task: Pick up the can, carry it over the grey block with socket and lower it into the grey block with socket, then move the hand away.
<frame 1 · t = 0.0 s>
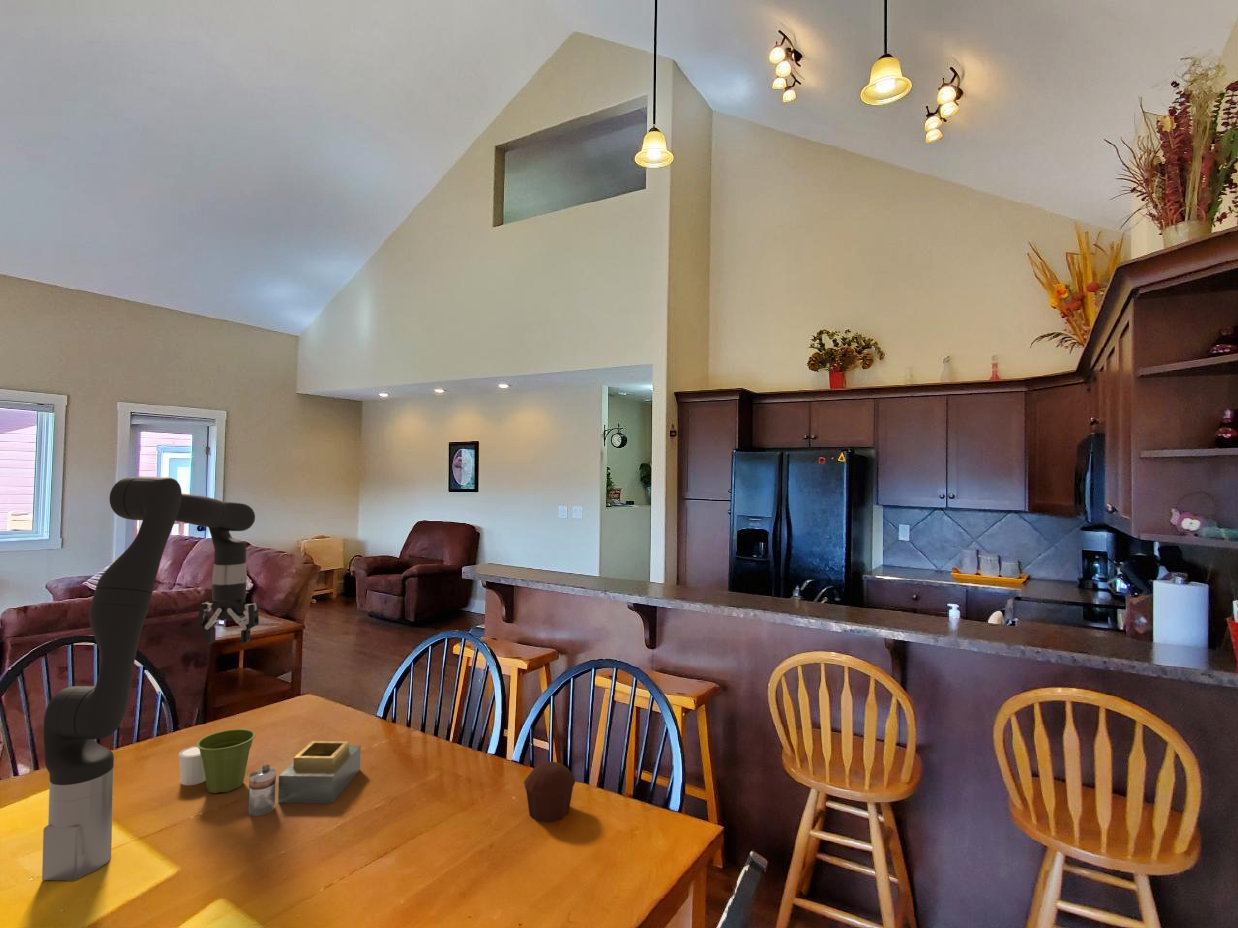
hand: (228, 643, 164), 29 cm above the table, fingers open, 8 cm apart
grey block with socket: (321, 785, 150), on the table
white cylinder: (195, 780, 152), on the table
muffin: (549, 811, 141), on the table
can: (261, 809, 139), on the table
plant pot: (225, 787, 149), on the table
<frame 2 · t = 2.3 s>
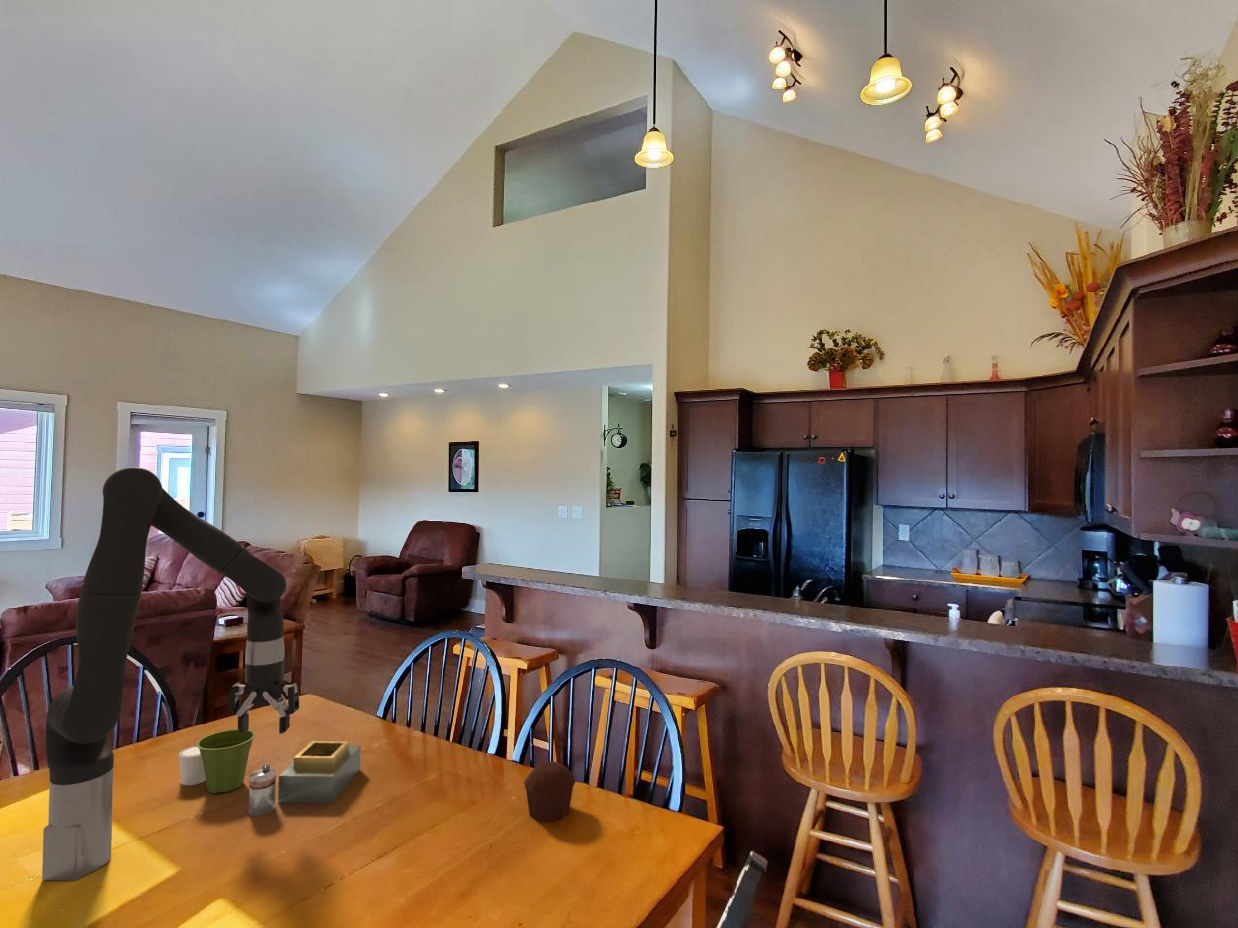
hand: (263, 731, 139), 17 cm above the table, fingers open, 8 cm apart
nothing on the table moved.
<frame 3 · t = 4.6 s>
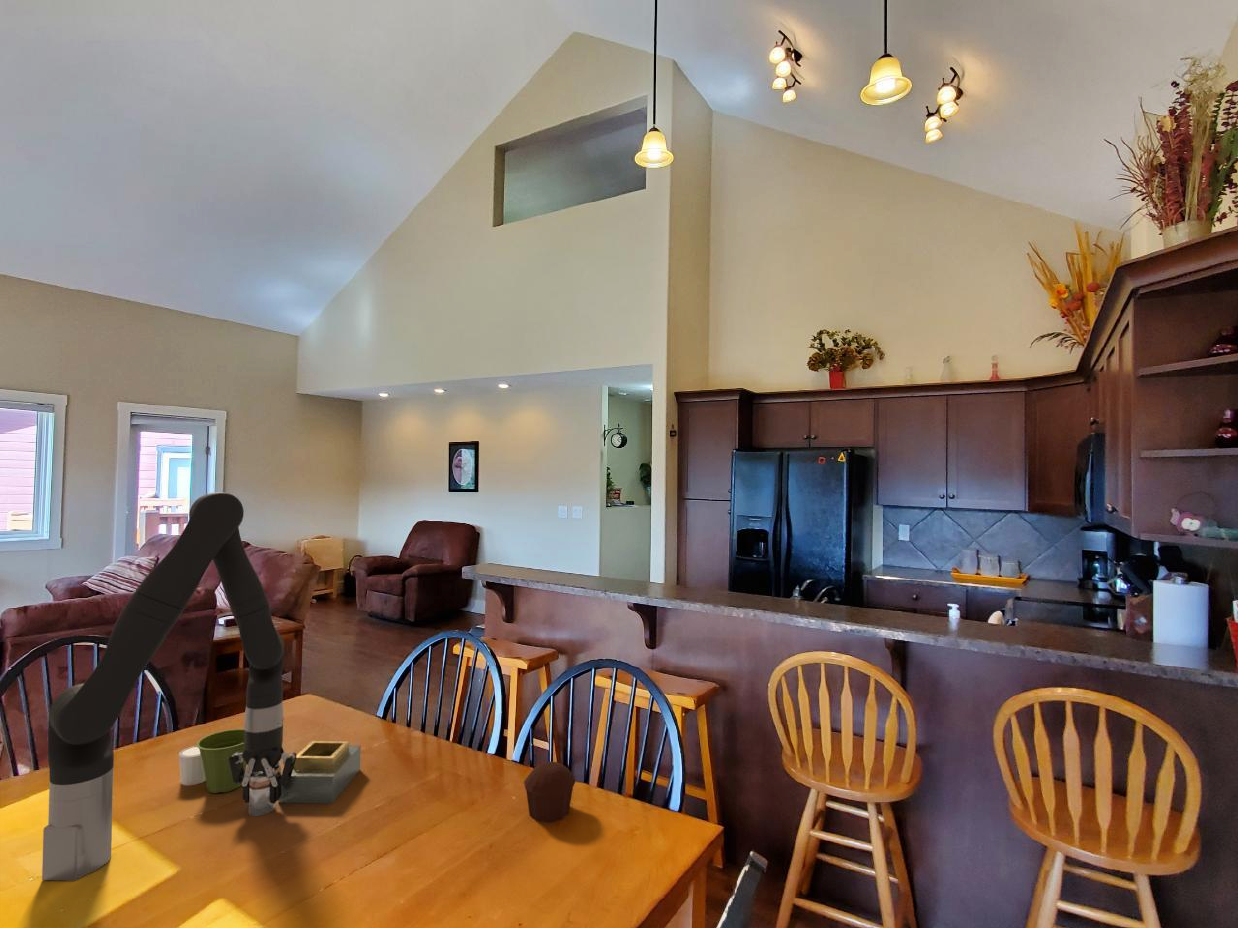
hand: (262, 800, 139), 2 cm above the table, fingers closed on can, 5 cm apart
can: (261, 809, 139), on the table, touching gripper
everything else where it was.
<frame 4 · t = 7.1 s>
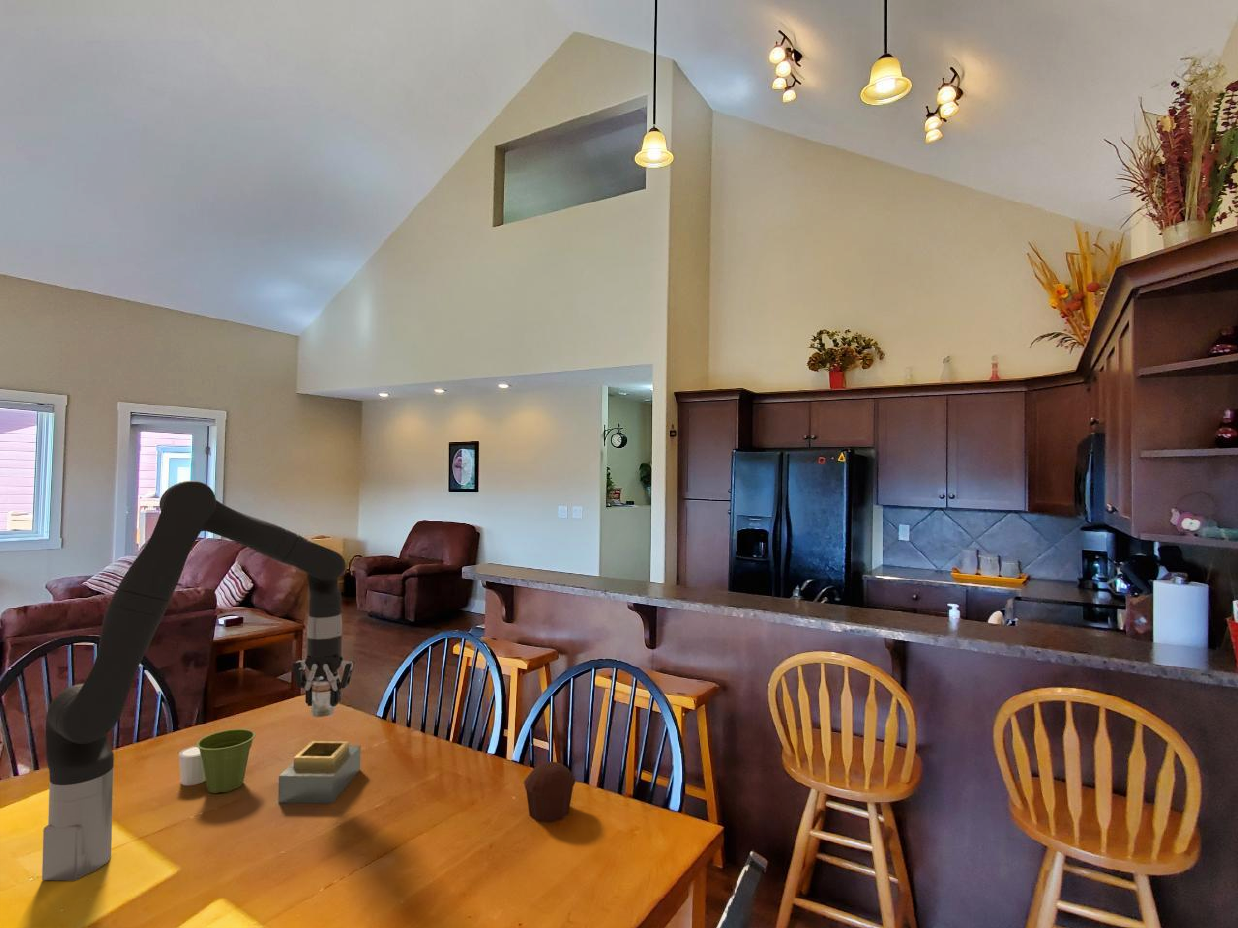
hand: (323, 704, 150), 19 cm above the table, fingers closed on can, 5 cm apart
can: (322, 712, 150), point 17 cm above the table, touching gripper
everything else where it was.
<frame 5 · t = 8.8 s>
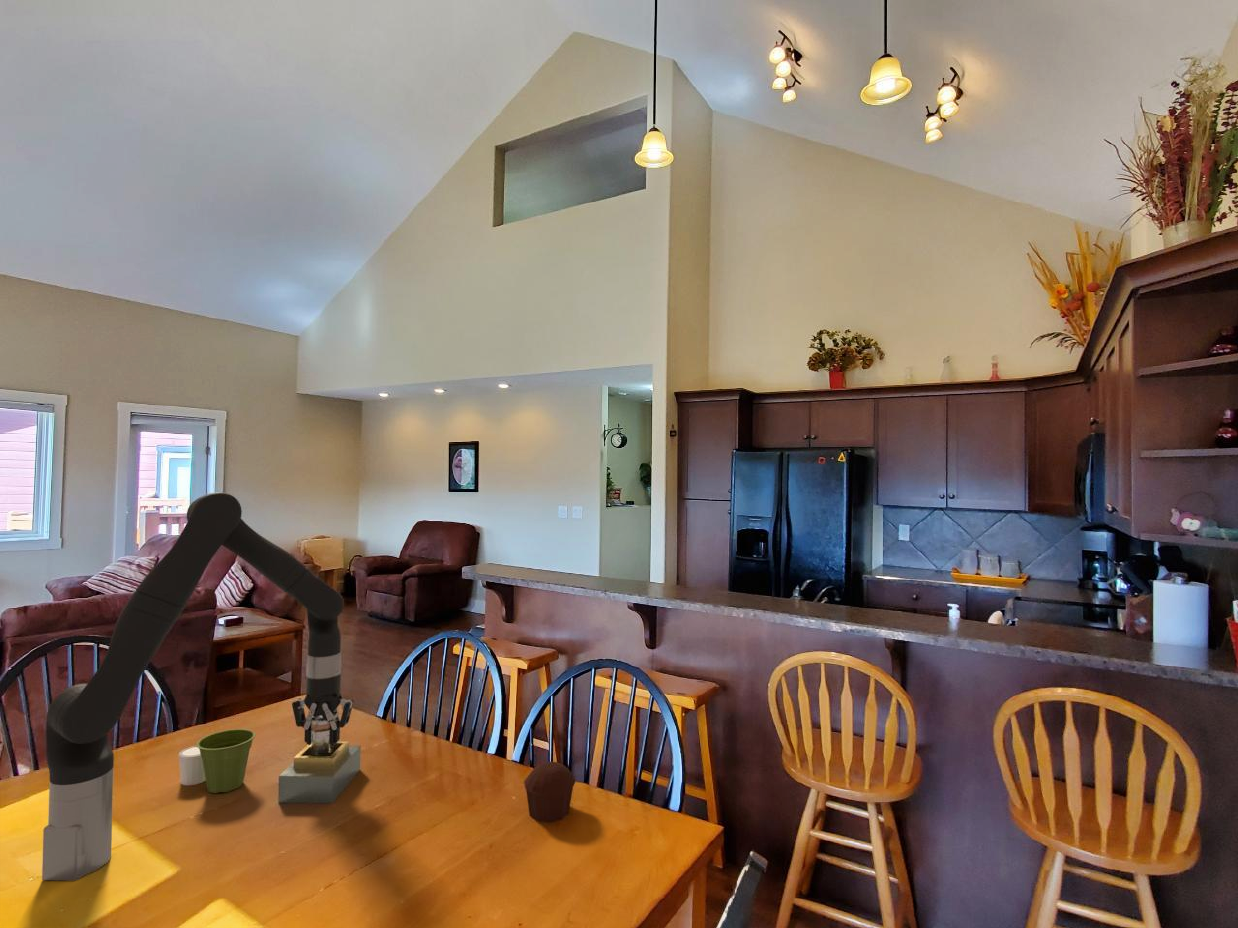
hand: (322, 743, 150), 10 cm above the table, fingers closed on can, 5 cm apart
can: (322, 751, 150), point 8 cm above the table, touching gripper
everything else where it was.
when the fingers open (10 cm above the table, at t = 9.8 s): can drops 2 cm, resting on grey block with socket.
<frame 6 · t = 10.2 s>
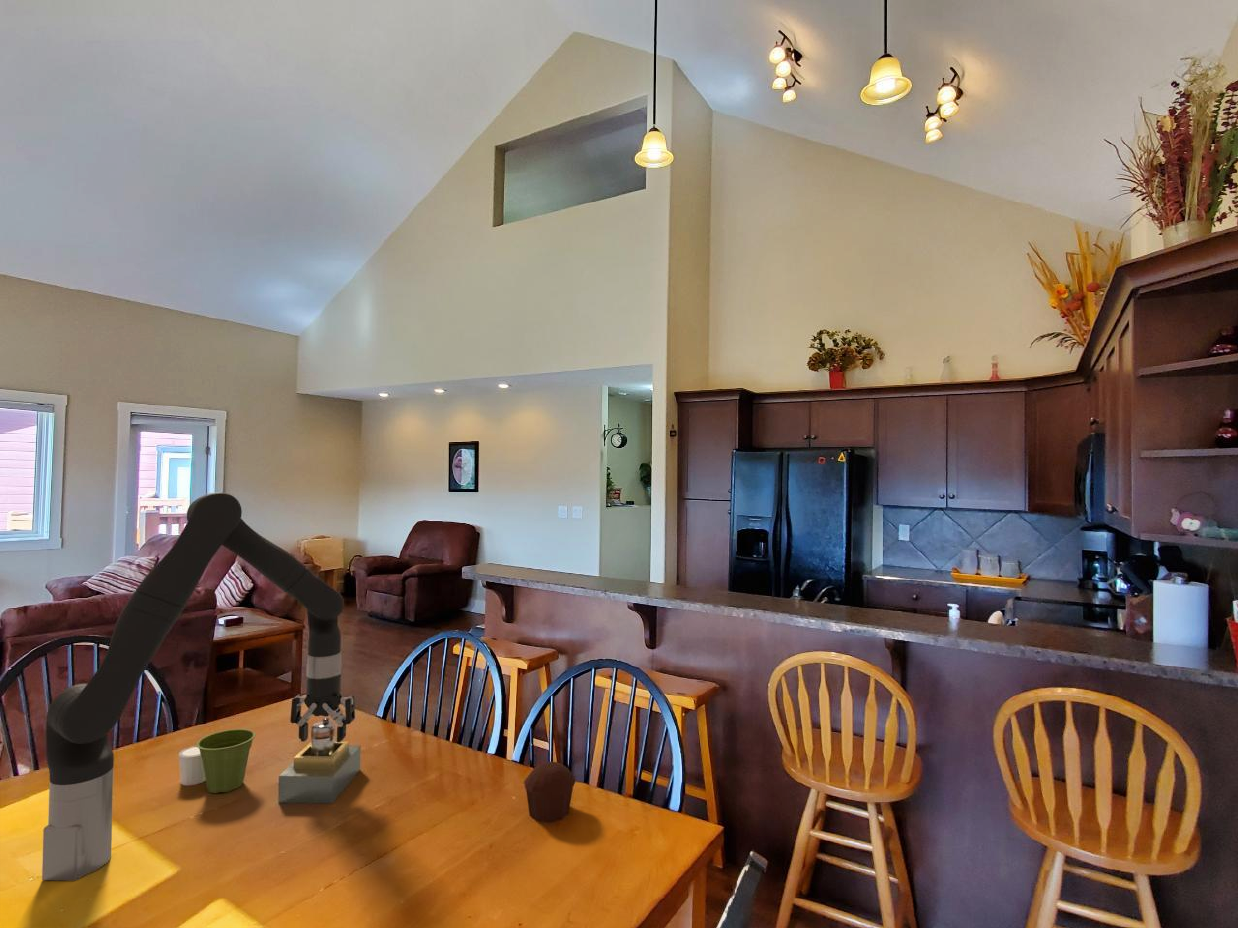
hand: (322, 740, 150), 11 cm above the table, fingers open, 8 cm apart
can: (322, 758, 150), point 6 cm above the table, touching grey block with socket
everything else where it was.
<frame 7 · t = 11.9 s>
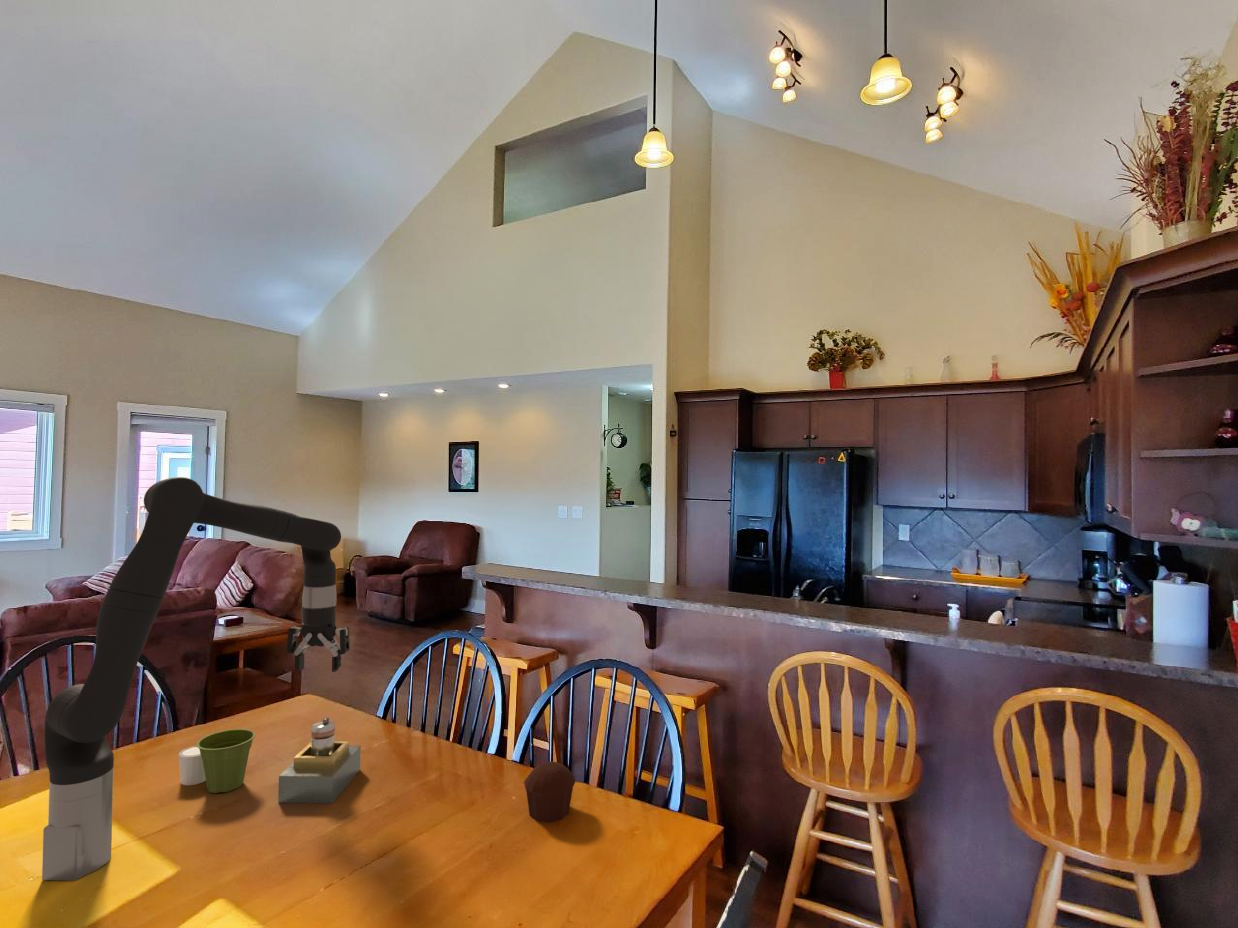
hand: (317, 670, 154), 26 cm above the table, fingers open, 8 cm apart
nothing on the table moved.
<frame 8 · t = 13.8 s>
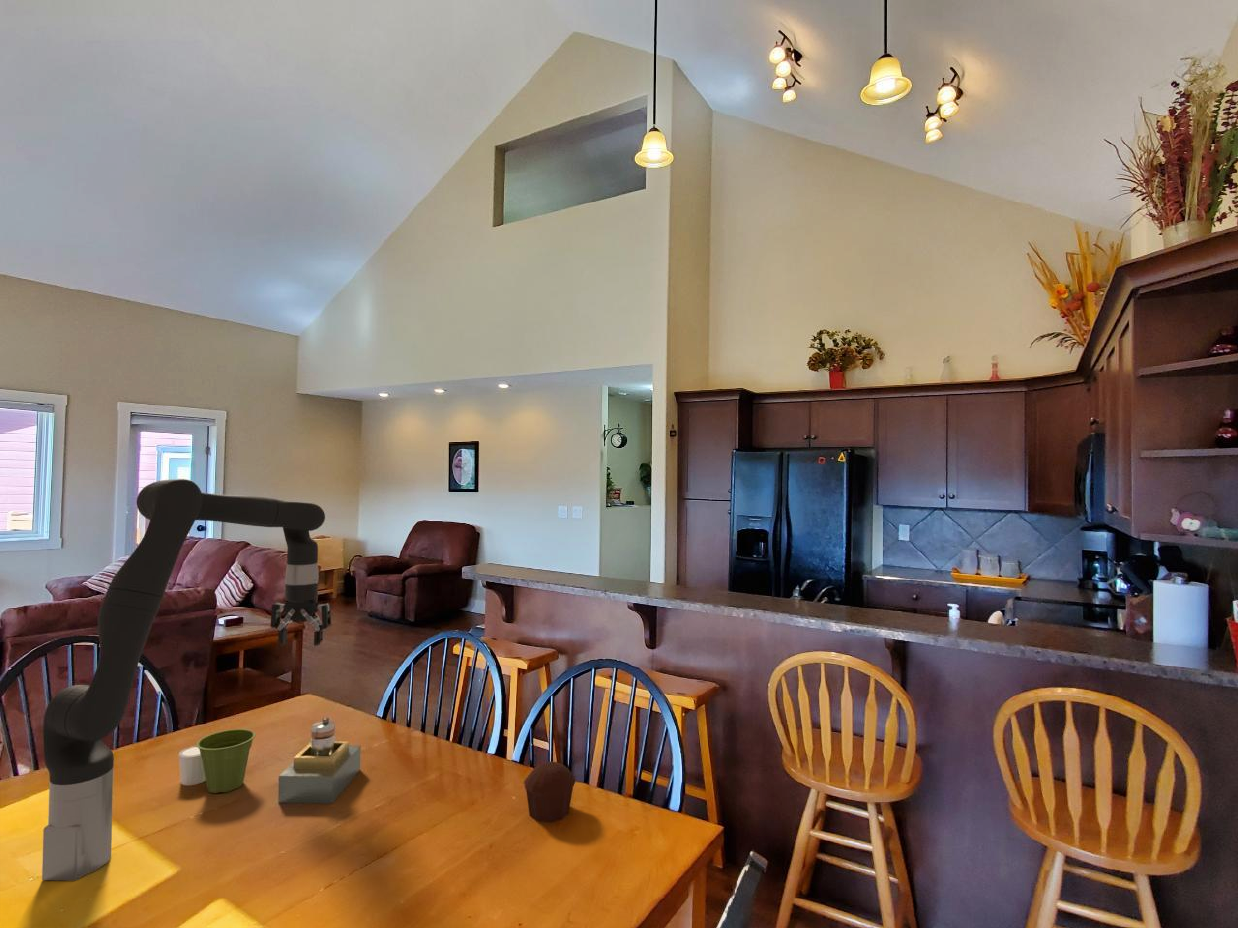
hand: (300, 644, 161), 30 cm above the table, fingers open, 8 cm apart
nothing on the table moved.
at the end: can 0.1 cm off-centre on the grey block with socket, point 6.2 cm above the grey block with socket's base; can tilted 0°; the gripper is holding nothing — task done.
